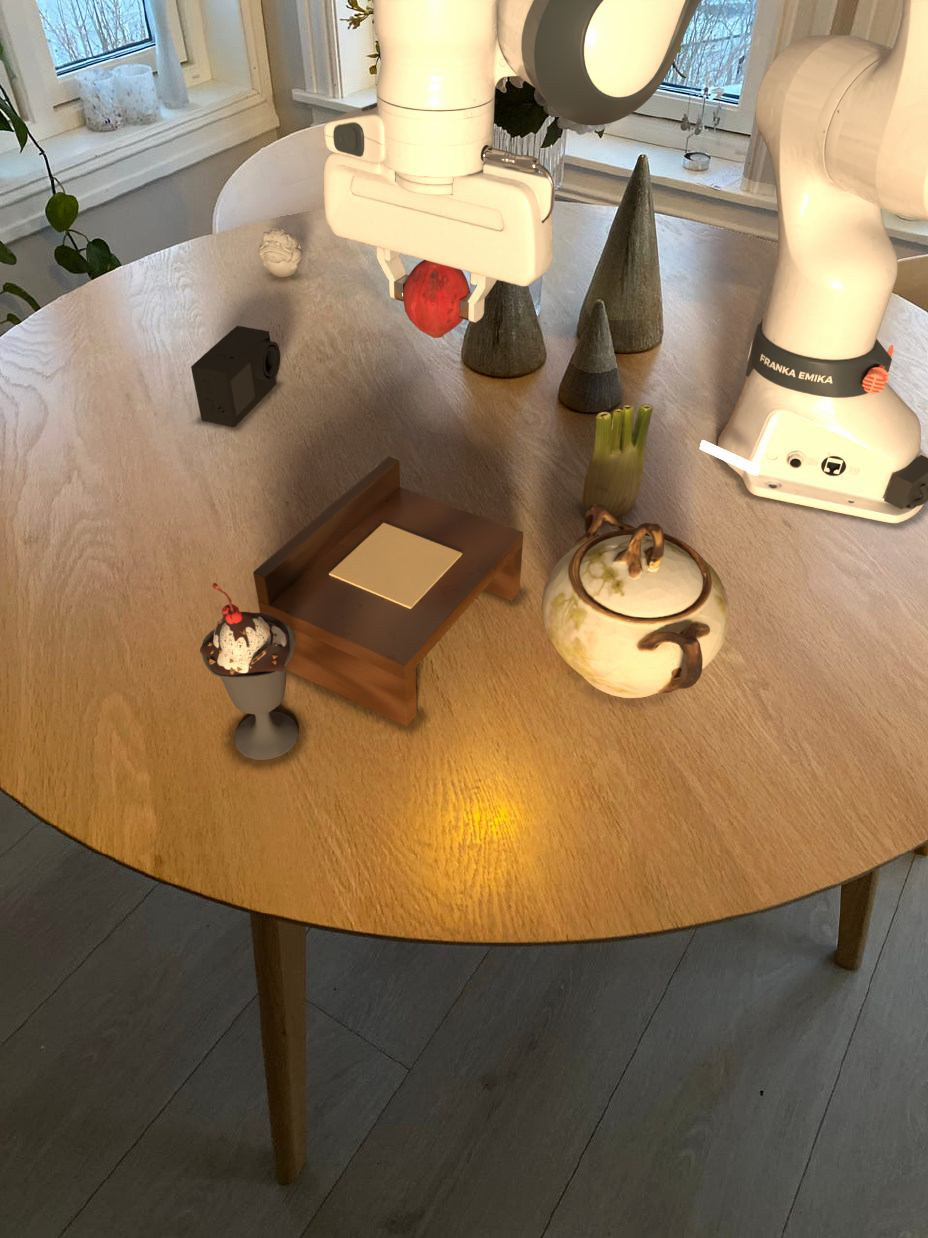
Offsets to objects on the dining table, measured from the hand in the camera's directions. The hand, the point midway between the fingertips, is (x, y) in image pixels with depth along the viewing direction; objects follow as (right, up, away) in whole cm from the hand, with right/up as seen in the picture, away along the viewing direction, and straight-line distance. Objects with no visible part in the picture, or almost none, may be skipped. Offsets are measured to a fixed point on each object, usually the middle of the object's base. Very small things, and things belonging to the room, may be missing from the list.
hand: (435, 307), depth 83 cm
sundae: (-13, -36, -7) cm, 39 cm away
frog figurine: (-23, +22, +55) cm, 63 cm away
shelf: (-3, -27, +2) cm, 28 cm away
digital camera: (-23, -2, +29) cm, 37 cm away
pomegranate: (0, -2, +2) cm, 3 cm away
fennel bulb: (+17, -16, +15) cm, 28 cm away
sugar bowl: (+16, -31, -1) cm, 35 cm away
